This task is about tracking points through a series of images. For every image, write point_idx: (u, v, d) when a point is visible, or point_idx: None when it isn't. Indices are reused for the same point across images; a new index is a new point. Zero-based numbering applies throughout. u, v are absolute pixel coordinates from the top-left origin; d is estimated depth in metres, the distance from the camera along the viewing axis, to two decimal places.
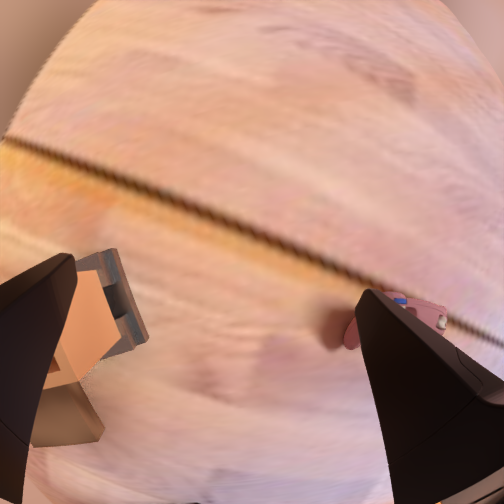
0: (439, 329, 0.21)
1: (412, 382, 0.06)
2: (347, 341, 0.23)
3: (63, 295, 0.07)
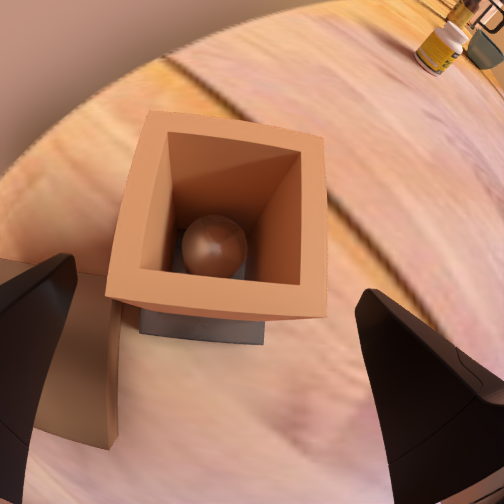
0: None
1: (412, 382, 0.06)
2: None
3: (63, 295, 0.07)
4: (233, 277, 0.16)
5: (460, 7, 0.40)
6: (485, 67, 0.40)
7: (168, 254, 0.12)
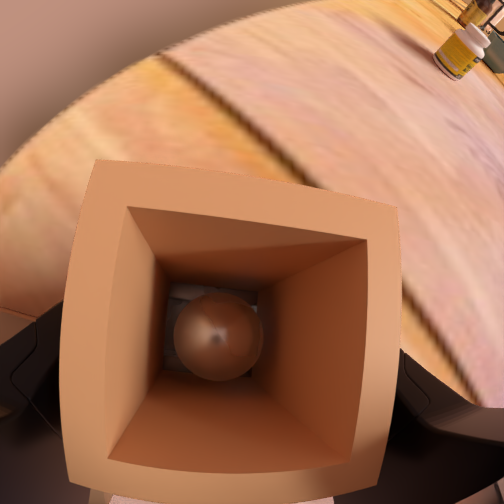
0: None
1: None
2: None
3: None
4: None
5: (473, 7, 0.36)
6: (500, 71, 0.36)
7: (157, 334, 0.08)
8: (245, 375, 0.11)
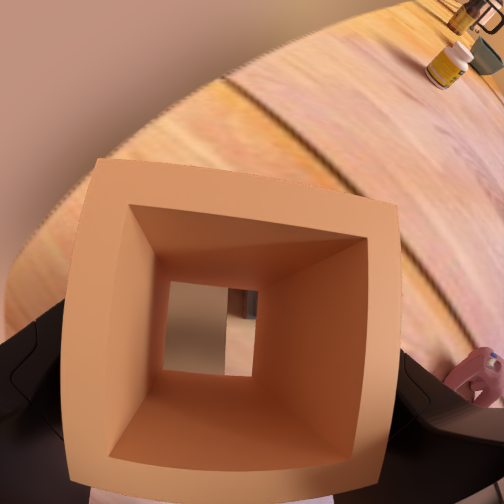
0: None
1: None
2: (448, 384, 0.22)
3: None
4: None
5: (462, 13, 0.43)
6: (485, 73, 0.44)
7: (158, 333, 0.08)
8: None
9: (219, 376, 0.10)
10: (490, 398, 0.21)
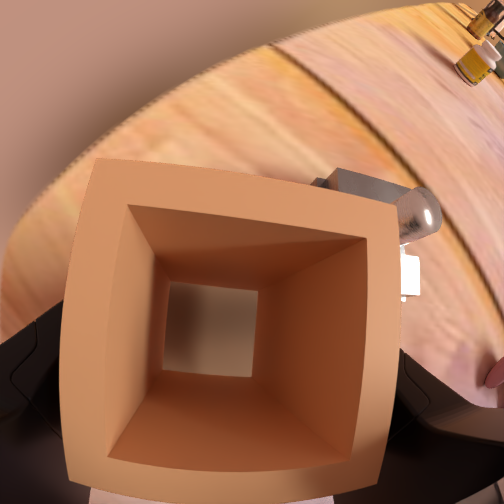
0: None
1: None
2: (493, 379, 0.18)
3: None
4: None
5: (482, 17, 0.40)
6: None
7: (157, 333, 0.08)
8: (402, 263, 0.16)
9: (218, 376, 0.10)
10: None
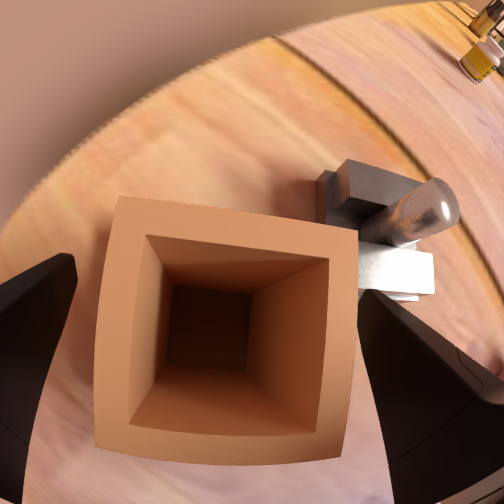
0: None
1: (412, 382, 0.06)
2: None
3: (63, 295, 0.07)
4: None
5: (483, 16, 0.39)
6: None
7: (163, 330, 0.10)
8: (416, 259, 0.15)
9: (216, 370, 0.12)
10: None
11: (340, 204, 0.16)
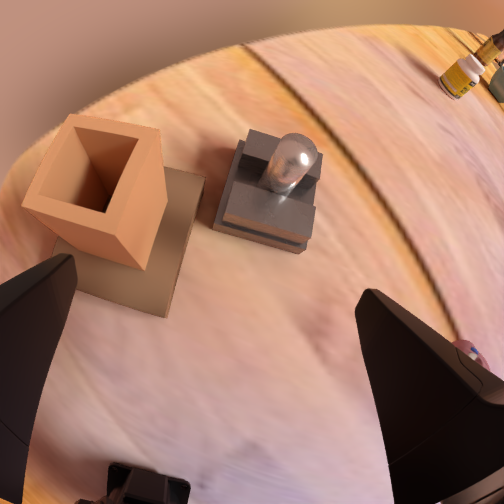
0: None
1: (412, 382, 0.06)
2: None
3: (63, 295, 0.07)
4: (289, 197, 0.22)
5: (489, 44, 0.46)
6: (503, 101, 0.45)
7: (87, 207, 0.15)
8: (295, 207, 0.20)
9: None
10: None
11: (239, 161, 0.21)
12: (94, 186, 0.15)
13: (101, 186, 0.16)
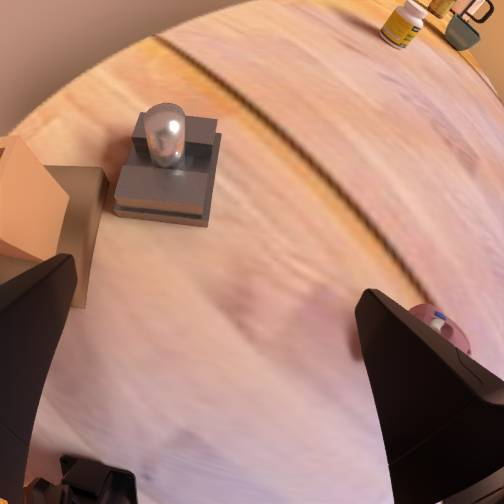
0: None
1: (411, 382, 0.06)
2: None
3: (63, 295, 0.07)
4: (188, 170, 0.21)
5: None
6: (462, 48, 0.43)
7: None
8: (185, 177, 0.18)
9: None
10: None
11: (134, 145, 0.19)
12: None
13: None
